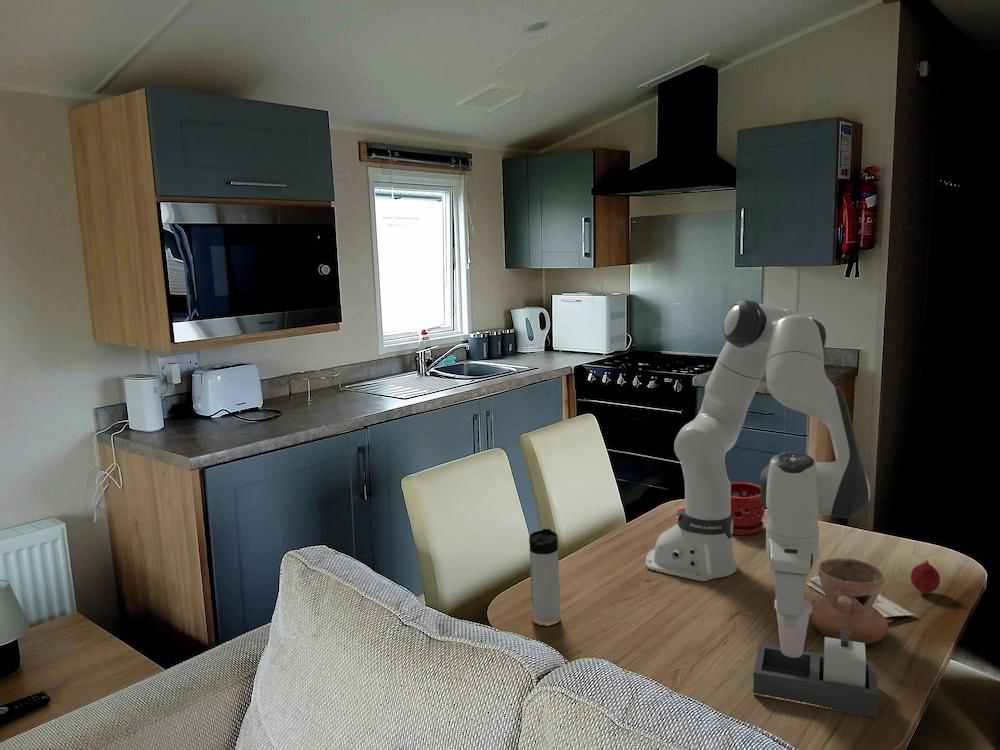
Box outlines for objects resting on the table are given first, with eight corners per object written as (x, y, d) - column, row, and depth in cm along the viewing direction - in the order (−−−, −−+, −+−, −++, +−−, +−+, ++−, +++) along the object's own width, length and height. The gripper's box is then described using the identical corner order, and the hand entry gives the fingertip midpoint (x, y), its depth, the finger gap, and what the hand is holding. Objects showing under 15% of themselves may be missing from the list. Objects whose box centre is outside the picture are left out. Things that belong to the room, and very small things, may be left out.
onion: (943, 600, 168) (945, 566, 166) (914, 598, 169) (916, 565, 167) (933, 588, 173) (935, 555, 172) (906, 587, 174) (908, 554, 173)
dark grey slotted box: (753, 695, 136) (754, 643, 134) (761, 649, 151) (762, 603, 149) (876, 718, 128) (879, 664, 126) (872, 668, 143) (874, 619, 141)
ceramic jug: (882, 662, 144) (886, 593, 142) (802, 643, 152) (805, 577, 150) (891, 623, 159) (895, 559, 157) (818, 608, 167) (821, 547, 165)
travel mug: (563, 614, 169) (561, 529, 166) (556, 628, 163) (553, 540, 160) (537, 611, 171) (533, 527, 168) (528, 625, 165) (525, 538, 162)
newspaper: (802, 586, 179) (803, 576, 178) (847, 583, 182) (848, 573, 181) (869, 630, 157) (871, 619, 157) (919, 627, 160) (920, 616, 159)
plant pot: (719, 519, 222) (720, 480, 220) (767, 523, 217) (767, 483, 215) (713, 535, 210) (713, 494, 208) (763, 540, 205) (764, 498, 203)
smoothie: (766, 644, 140) (768, 574, 138) (799, 641, 141) (802, 571, 138) (783, 663, 134) (785, 590, 132) (817, 659, 135) (820, 587, 132)
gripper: (776, 522, 145) (776, 590, 147) (769, 565, 126) (769, 641, 128) (812, 525, 142) (811, 594, 144) (810, 569, 124) (809, 647, 126)
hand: (791, 617), depth 136 cm, fingers closed on smoothie, 6 cm apart
